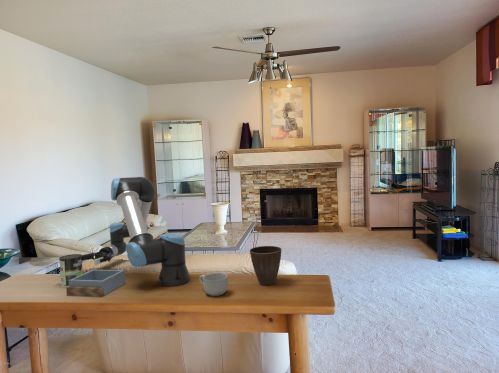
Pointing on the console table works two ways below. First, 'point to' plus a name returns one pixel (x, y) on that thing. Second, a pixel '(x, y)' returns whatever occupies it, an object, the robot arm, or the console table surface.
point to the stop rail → (85, 291)
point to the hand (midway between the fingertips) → (83, 262)
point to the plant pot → (266, 263)
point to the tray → (100, 279)
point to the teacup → (215, 283)
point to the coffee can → (70, 268)
